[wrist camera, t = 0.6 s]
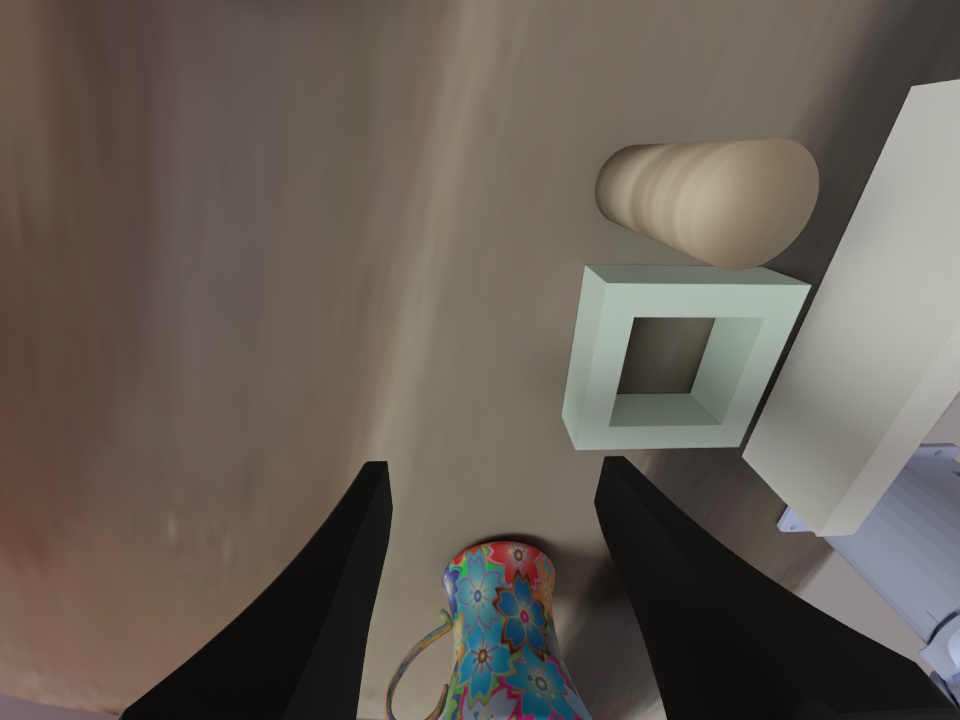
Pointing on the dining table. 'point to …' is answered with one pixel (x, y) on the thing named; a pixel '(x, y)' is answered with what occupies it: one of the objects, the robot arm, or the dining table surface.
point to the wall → (874, 332)
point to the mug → (500, 640)
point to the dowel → (713, 197)
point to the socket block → (723, 369)
